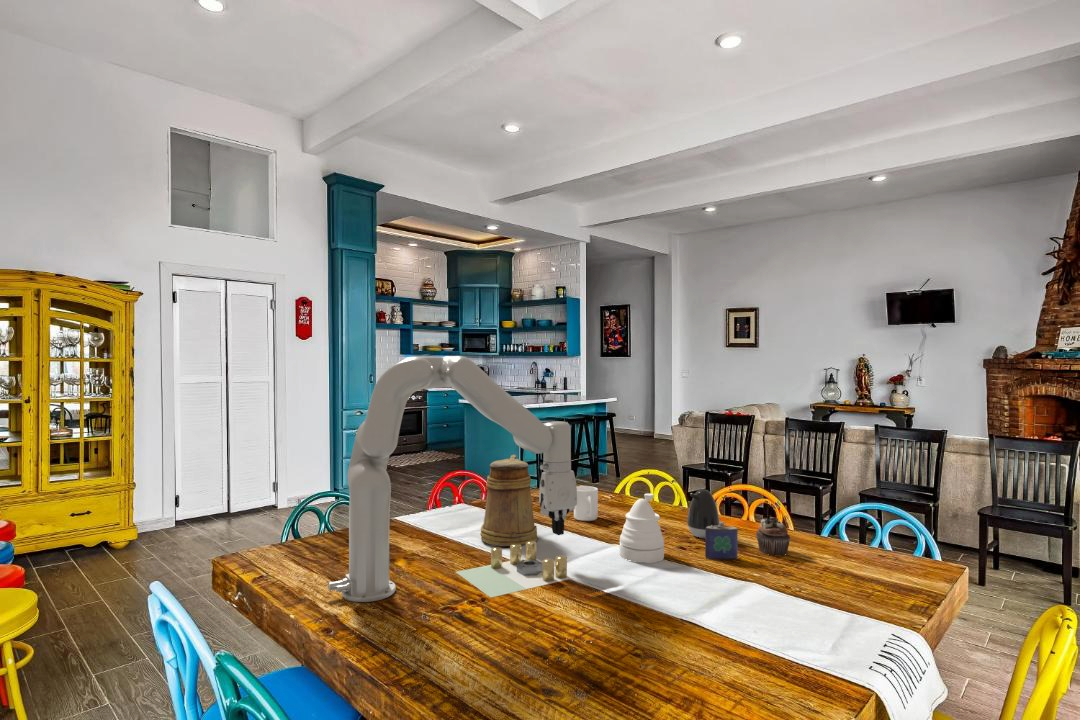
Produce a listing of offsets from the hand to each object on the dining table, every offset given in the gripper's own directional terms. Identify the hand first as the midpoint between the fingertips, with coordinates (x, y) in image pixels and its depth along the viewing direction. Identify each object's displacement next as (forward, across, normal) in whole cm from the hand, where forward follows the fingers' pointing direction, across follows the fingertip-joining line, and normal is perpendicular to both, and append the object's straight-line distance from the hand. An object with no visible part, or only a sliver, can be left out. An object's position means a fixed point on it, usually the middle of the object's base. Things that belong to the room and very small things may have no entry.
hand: (558, 533), depth 166 cm
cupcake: (+11, +63, -22) cm, 67 cm away
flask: (+11, +45, -18) cm, 49 cm away
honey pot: (+10, +27, -4) cm, 29 cm away
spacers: (+9, -10, 0) cm, 13 cm away
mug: (+10, +37, +36) cm, 53 cm away
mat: (+9, -14, 0) cm, 17 cm away
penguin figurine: (+11, +57, 0) cm, 58 cm away
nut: (+9, -9, 0) cm, 13 cm away
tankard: (+10, +3, +32) cm, 34 cm away
